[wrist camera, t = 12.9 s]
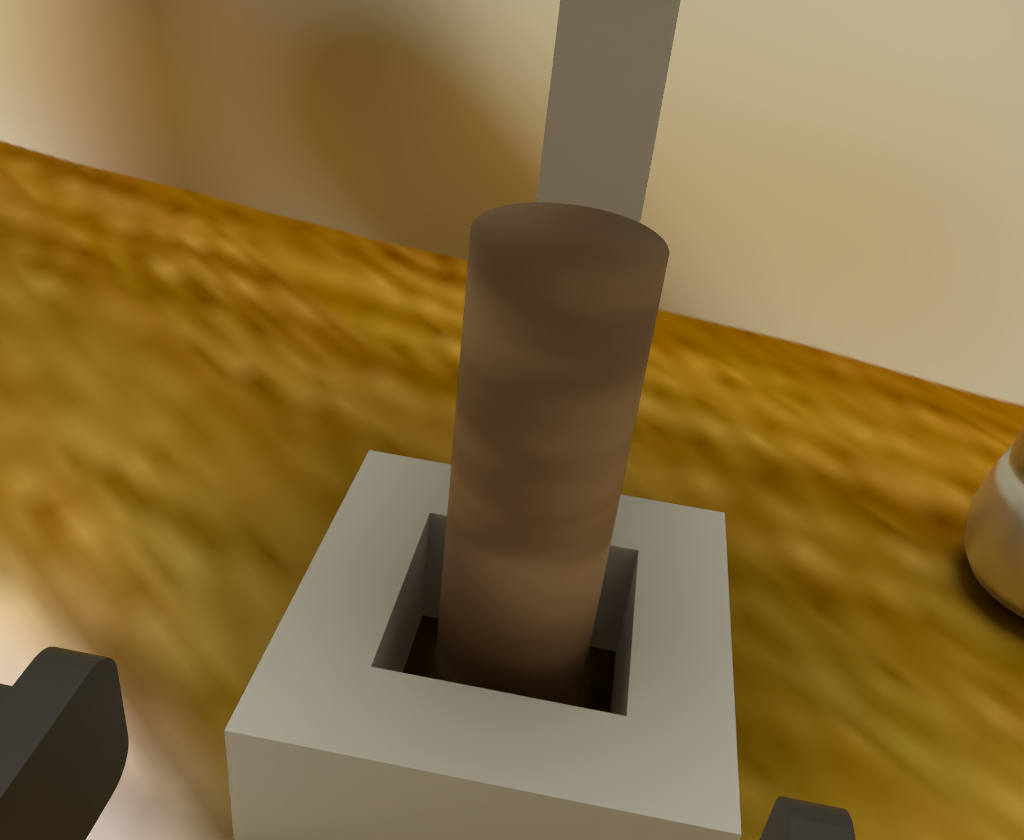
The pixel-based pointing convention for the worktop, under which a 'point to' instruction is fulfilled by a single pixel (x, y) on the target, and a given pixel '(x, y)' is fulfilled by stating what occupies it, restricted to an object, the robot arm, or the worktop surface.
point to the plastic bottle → (1000, 530)
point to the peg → (541, 439)
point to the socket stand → (417, 587)
